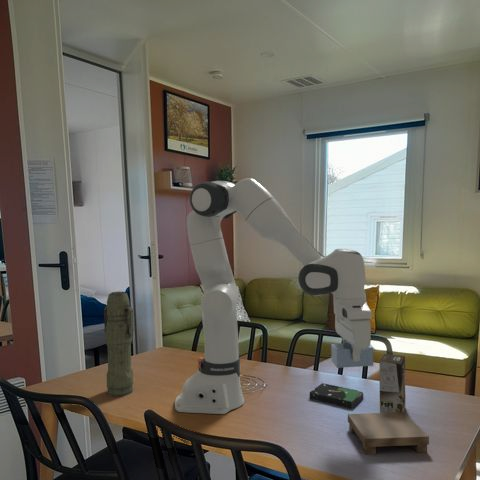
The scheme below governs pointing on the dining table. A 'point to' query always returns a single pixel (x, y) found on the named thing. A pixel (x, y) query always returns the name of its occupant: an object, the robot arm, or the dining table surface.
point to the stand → (387, 431)
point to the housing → (350, 356)
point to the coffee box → (392, 383)
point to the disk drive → (336, 395)
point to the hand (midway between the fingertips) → (351, 356)
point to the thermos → (119, 344)
